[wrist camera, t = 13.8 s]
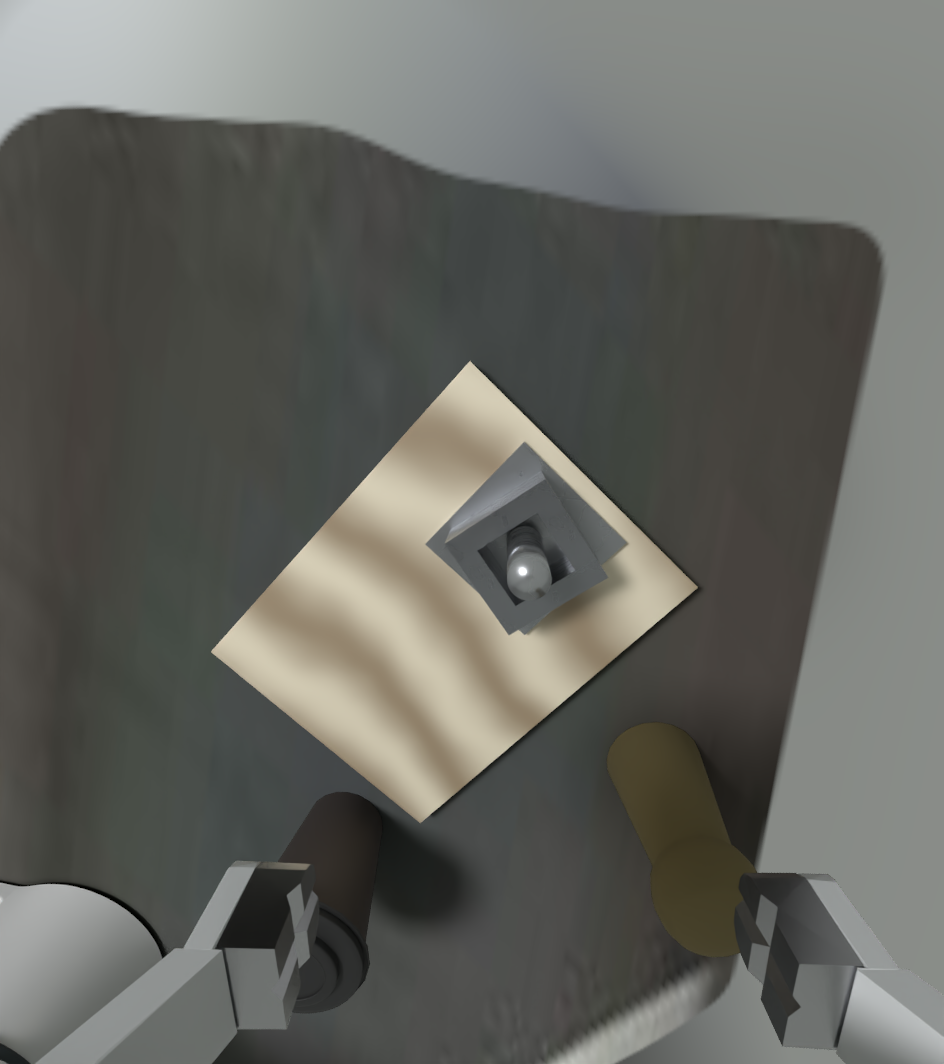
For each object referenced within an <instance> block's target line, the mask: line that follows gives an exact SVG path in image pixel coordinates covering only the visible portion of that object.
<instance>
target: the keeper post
mask: <svg viewBox="0 0 944 1064" xmlns="http://www.w3.org/2000/svg"><path fill="white" fill-rule="evenodd" d="M540 471H541V472H542V473H543V475H544V476H545V478H546V479H547V481H548V483H549V484H550V486H551V487H552V489H553V490H554V492H555V493H556V495H557V497H558V498H559V500H560V501H561V503H562V504H563V506H564V507H565V509H566V511H567V512H568V514H569V515H570V517H571V518H572V520H573V521H574V523H575V525H576V526H577V528H578V529H579V531H580V532H581V534H582V535H583V537H584V539H585V540H586V542H587V543H588V545H589V546H590V548H591V549H592V551H593V553H594V554H595V556H596V557H597V559H598V560H599V562H600V564H601V565H602V564H604V563H605V562H606V561H607V560H608V559H609V558H610V557H611V556H612V555H613V554H615V553H616V552H617V551H618V550H619V549H620V548H621V547H622V546H623V545H624V544H626V543H627V542H626V541H625V540H624V539H623V538H622V537H621V536H620V535H619V534H618V533H617V532H616V531H615V530H614V529H613V528H612V527H611V526H610V525H609V524H608V523H607V522H606V521H605V520H604V519H603V518H602V517H600V516H599V515H598V514H597V513H596V512H595V511H594V510H593V509H592V508H591V507H590V506H589V505H588V504H587V503H586V502H585V501H584V500H583V499H582V498H581V497H580V496H579V495H578V494H577V493H576V492H575V491H574V490H573V489H572V488H571V487H570V486H569V485H568V484H567V483H566V482H565V481H564V480H563V479H562V478H561V477H560V476H559V475H558V474H557V473H556V472H555V471H554V470H553V469H552V468H551V467H550V466H549V465H548V464H547V463H546V462H545V461H544V460H543V459H541V458H540V457H539V456H538V455H537V454H536V453H535V452H534V451H533V450H532V449H531V448H530V447H529V446H528V445H527V444H526V443H525V442H523V443H522V444H521V445H520V446H519V447H518V448H517V449H516V450H515V451H514V452H513V453H512V454H511V455H510V456H509V457H508V458H507V459H506V461H505V462H504V463H503V464H502V465H501V466H500V467H499V468H498V469H497V470H496V471H495V472H494V473H493V474H492V475H491V476H490V477H489V478H488V479H487V480H486V481H485V482H484V483H483V484H482V485H481V486H480V487H479V488H478V489H477V490H476V492H475V493H474V494H473V495H472V496H471V497H470V498H469V499H468V500H467V501H466V502H465V503H464V504H463V505H462V506H461V507H460V508H459V509H458V510H457V511H456V512H455V513H454V514H453V515H452V516H451V517H450V518H449V519H448V520H447V522H446V523H445V524H444V525H443V526H442V527H441V528H440V529H439V530H438V531H437V532H436V533H435V534H434V535H433V536H432V537H431V538H430V539H429V540H428V541H427V542H426V544H425V545H426V546H428V547H429V548H430V549H431V550H432V551H433V552H434V553H435V554H436V555H437V556H438V557H440V558H441V559H442V560H443V561H444V562H445V563H446V564H447V565H448V566H449V567H451V568H452V569H453V570H454V571H455V572H456V573H457V574H458V575H459V576H460V577H461V578H463V579H464V580H465V581H466V582H467V583H468V584H469V585H470V586H471V587H472V588H473V589H475V590H476V588H475V587H474V585H473V584H472V583H471V581H470V580H469V578H468V577H467V575H466V574H465V573H464V571H463V570H462V568H461V567H460V565H459V564H458V563H457V561H456V560H455V558H454V557H453V556H452V554H451V553H450V551H449V550H448V548H447V547H446V546H445V541H446V539H447V537H448V534H449V532H450V530H451V529H452V528H454V527H455V526H457V525H458V524H460V523H461V522H463V521H464V520H466V519H468V518H469V517H471V516H472V515H474V514H475V513H477V512H478V511H480V510H481V509H483V508H485V507H486V506H488V505H489V504H491V503H492V502H494V501H495V500H497V499H498V498H500V497H502V496H503V495H505V494H506V493H508V492H509V491H511V490H512V489H514V488H515V487H517V486H519V485H520V484H522V483H523V482H525V481H526V480H528V479H529V478H531V477H532V476H534V475H536V474H537V473H539V472H540ZM487 546H488V548H489V549H490V551H491V552H492V554H493V555H494V557H495V558H496V560H497V561H498V562H499V564H500V565H501V567H502V568H503V570H504V571H505V573H506V574H507V584H508V587H509V589H510V591H511V592H512V593H513V594H514V595H515V596H516V597H518V598H520V599H522V600H528V601H531V600H536V599H539V598H541V597H543V596H544V595H545V594H546V593H547V592H548V590H549V589H550V586H551V583H552V576H551V572H550V568H549V565H550V564H552V563H553V562H555V561H557V560H558V559H560V558H562V557H563V556H565V554H564V552H563V551H562V549H561V548H560V546H559V545H558V543H557V542H556V540H555V539H554V537H553V536H552V534H551V533H550V531H549V529H548V528H547V526H546V525H545V523H544V522H543V520H542V519H541V517H540V516H539V514H538V513H536V514H534V515H533V516H531V517H530V518H528V519H527V520H525V521H523V522H522V523H520V524H519V525H517V526H515V527H514V528H512V529H511V530H509V531H507V532H506V533H504V534H503V535H501V536H500V537H498V538H496V539H495V540H493V541H492V542H490V543H488V544H487ZM476 591H477V590H476ZM477 592H478V591H477ZM478 593H479V592H478ZM550 612H551V611H550ZM550 612H548V613H547V614H545V615H543V616H541V617H540V618H538V619H536V620H535V621H533V622H531V623H529V624H528V625H526V626H524V627H523V628H521V629H519V631H520V632H522V633H523V634H524V635H526V634H527V633H528V632H529V631H530V630H531V629H532V628H533V627H534V626H535V625H537V624H538V623H539V622H540V621H541V620H542V619H543V618H544V617H545V616H546V615H548V614H549V613H550Z"/></svg>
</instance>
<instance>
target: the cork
mask: <svg viewBox="0 0 944 1064" xmlns="http://www.w3.org/2000/svg"><path fill="white" fill-rule="evenodd" d="M607 768H608V773H609V775H610V777H611V780H612V782H613V784H614V786H615V788H616V790H617V792H618V794H619V796H620V799H621V801H622V803H623V805H624V807H625V809H626V811H627V813H628V815H629V817H630V820H631V822H632V824H633V826H634V828H635V830H636V832H637V834H638V836H639V839H640V841H641V843H642V845H643V847H644V849H645V851H646V853H647V855H648V858H649V860H650V862H651V864H652V866H653V868H652V871H651V874H650V877H651V895H652V900H653V904H654V908H655V910H656V912H657V914H658V916H659V918H660V920H661V922H662V924H663V925H664V927H665V929H666V931H667V932H668V933H669V934H670V935H671V936H672V937H673V938H674V939H675V940H676V941H677V942H679V943H680V944H681V945H682V946H683V947H684V948H685V949H687V950H689V951H691V952H694V953H696V954H698V955H703V956H708V957H727V956H731V955H734V954H738V953H740V950H739V947H738V943H737V940H736V934H735V927H734V914H735V907H736V906H737V905H738V904H739V903H740V902H741V901H742V900H743V897H742V895H741V893H740V891H739V889H738V887H739V881H740V877H741V876H742V875H743V874H744V873H757V871H756V870H755V868H754V866H753V865H752V864H751V863H750V862H749V860H748V859H747V858H746V857H745V856H744V855H743V854H742V853H741V852H740V851H739V850H738V849H737V848H736V847H734V846H732V845H731V843H730V840H729V837H728V834H727V831H726V828H725V825H724V822H723V819H722V816H721V814H720V811H719V808H718V805H717V802H716V799H715V796H714V793H713V790H712V787H711V785H710V782H709V779H708V776H707V773H706V770H705V767H704V764H703V761H702V758H701V756H700V753H699V750H698V748H697V746H696V744H695V742H694V740H693V739H692V738H691V737H690V736H689V735H688V734H687V733H686V732H685V731H683V730H681V729H679V728H677V727H675V726H673V725H670V724H665V723H659V722H654V723H643V724H640V725H637V726H635V727H632V728H629V729H628V730H626V731H625V732H624V733H622V734H621V735H620V736H618V737H617V739H616V740H615V741H614V743H613V744H612V746H611V747H610V750H609V753H608V757H607Z"/></svg>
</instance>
